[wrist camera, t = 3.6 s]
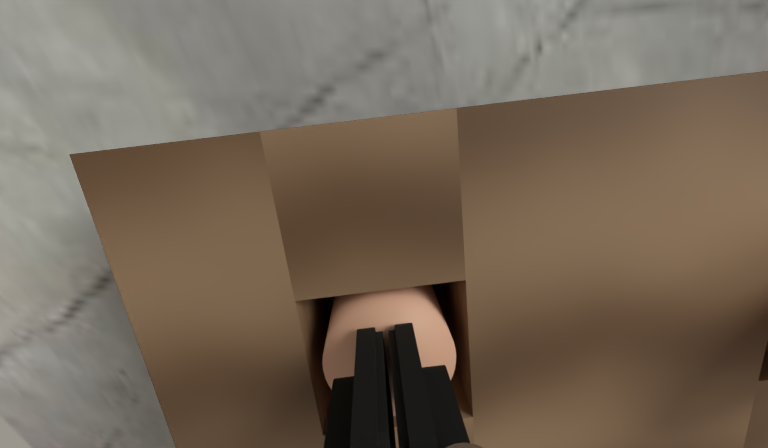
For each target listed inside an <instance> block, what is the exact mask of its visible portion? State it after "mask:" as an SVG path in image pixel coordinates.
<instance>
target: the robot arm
mask: <svg viewBox="0 0 768 448" xmlns="http://www.w3.org/2000/svg"><path fill="white" fill-rule="evenodd" d="M388 336H389V347H390V358H391V369H392V380H393V391H394V402H395V413H396V424H397V434H398V443H399V448H483V447H481V446H479V445H476V444H471V443H470V441H469V437H468V434H467V431H466V428H465V425H464V422H463V418H462V415H461V412H460V409H459V406H458V403H457V399H456V396H455V393H454V390H453V387H452V384H451V380H450V377H449V374H448V371H447V368H446V366H445V365H438V366H430V367H422V366H421V361H420V356H419V352H418V347H417V342H416V338H415V333H414V328H413V324H412V323H404V324H396V325H395V330H388ZM324 448H396V441H395V429H394V417H393V407H392V399H391V392H390V384H389V376H388V369H387V361H386V354H385V346H384V339H383V332H382V331H379V332H376V330H375V327H371V328H363V329H357V334H356V351H355V368H354V376H350V377H342V378H334V380H333V384H332V391H331V398H330V405H329V412H328V419H327V427H326V434H325V441H324Z"/></svg>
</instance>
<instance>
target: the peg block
mask: <svg viewBox="0 0 768 448" xmlns="http://www.w3.org/2000/svg"><path fill="white" fill-rule="evenodd" d="M69 155H70V157H71V160H72V163H73V166H74V168H75V171H76V174H77V177H78V179H79V182H80V185H81V188H82V190H83V193H84V196H85V199H86V201H87V204H88V207H89V210H90V212H91V215H92V218H93V221H94V223H95V226H96V229H97V232H98V234H99V237H100V240H101V243H102V245H103V248H104V251H105V254H106V256H107V259H108V262H109V265H110V267H111V270H112V273H113V276H114V278H115V281H116V284H117V287H118V289H119V292H120V295H121V298H122V300H123V303H124V306H125V309H126V311H127V314H128V317H129V320H130V322H131V325H132V328H133V331H134V333H135V336H136V339H137V342H138V344H139V347H140V350H141V353H142V355H143V358H144V361H145V364H146V366H147V369H148V372H149V375H150V377H151V380H152V383H153V386H154V389H155V391H156V394H157V397H158V400H159V402H160V405H161V408H162V411H163V413H164V416H165V419H166V422H167V424H168V427H169V430H170V433H171V435H172V438H173V441H174V444H175V446H176V448H324V441H325V434H326V427H327V419H328V412H329V405H330V398H331V391H332V390H331V388H330V387H329V385H328V383H327V381H326V379H325V375H324V372H323V364H322V362H323V352H324V347H325V342H326V337H327V332H328V326H329V321H330V316H331V311H332V306H333V301H334V296H341V295H349V294H358V293H366V292H374V291H382V290H390V289H398V288H406V287H415V286H423V285H431V284H432V286H433V289H434V292H435V294H436V297H437V299H438V302H439V305H440V307H441V310H442V312H443V315H444V318H445V320H446V323H447V326H448V328H449V331H450V333H451V336H452V339H453V342H454V345H455V349H456V366H455V370H454V374H453V377H452V379H451V384H452V387H453V390H454V393H455V396H456V399H457V403H458V406H459V409H460V412H461V415H462V418H463V422H464V425H465V428H466V431H467V434H468V437H469V441H470V443H471V444H476V445H479V446H481V447H483V448H768V71H763V72H755V73H747V74H738V75H730V76H722V77H713V78H705V79H696V80H688V81H680V82H671V83H663V84H655V85H646V86H638V87H630V88H621V89H613V90H604V91H596V92H588V93H579V94H571V95H563V96H554V97H546V98H537V99H529V100H521V101H512V102H504V103H496V104H487V105H479V106H471V107H462V108H454V109H445V110H437V111H429V112H420V113H412V114H404V115H395V116H387V117H379V118H370V119H362V120H353V121H345V122H337V123H328V124H320V125H312V126H303V127H295V128H287V129H278V130H270V131H261V132H253V133H245V134H236V135H228V136H220V137H211V138H203V139H194V140H186V141H178V142H169V143H161V144H153V145H144V146H136V147H128V148H119V149H111V150H102V151H94V152H86V153H77V154H69ZM393 417H394V429H395V441H396V448H399V443H398V434H397V424H396V416H393Z"/></svg>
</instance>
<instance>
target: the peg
mask: <svg viewBox="0 0 768 448" xmlns="http://www.w3.org/2000/svg"><path fill="white" fill-rule="evenodd" d="M404 323H412V324H413V328H414V333H415V338H416V342H417V347H418V352H419V356H420V361H421V366H422V367H430V366H438V365H445V366H446V368H447V371H448V374H449V377H450V380H451V379H452V377H453V374H454V370H455V366H456V349H455V345H454V342H453V339H452V336H451V333H450V331H449V328H448V326H447V323H446V320H445V318H444V315H443V312H442V310H441V307H440V305H439V302H438V299H437V297H436V294H435V292H434V289H433V286H432V284H431V285H423V286H415V287H406V288H398V289H390V290H382V291H374V292H366V293H358V294H349V295H341V296H334V301H333V306H332V311H331V316H330V321H329V326H328V332H327V337H326V342H325V347H324V352H323V362H322V364H323V372H324V375H325V379H326V381H327V383H328V385H329V387H330V388H331V390H332V384H333V380H334V378H342V377H350V376H354V368H355V351H356V334H357V329H363V328H371V327H375V330H376V332H379V331H382V332H383V339H384V346H385V354H386V361H387V369H388V376H389V384H390V392H391V399H392V407H393V416H396V413H395V402H394V391H393V380H392V369H391V358H390V347H389V336H388V330H395V325H396V324H404Z"/></svg>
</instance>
